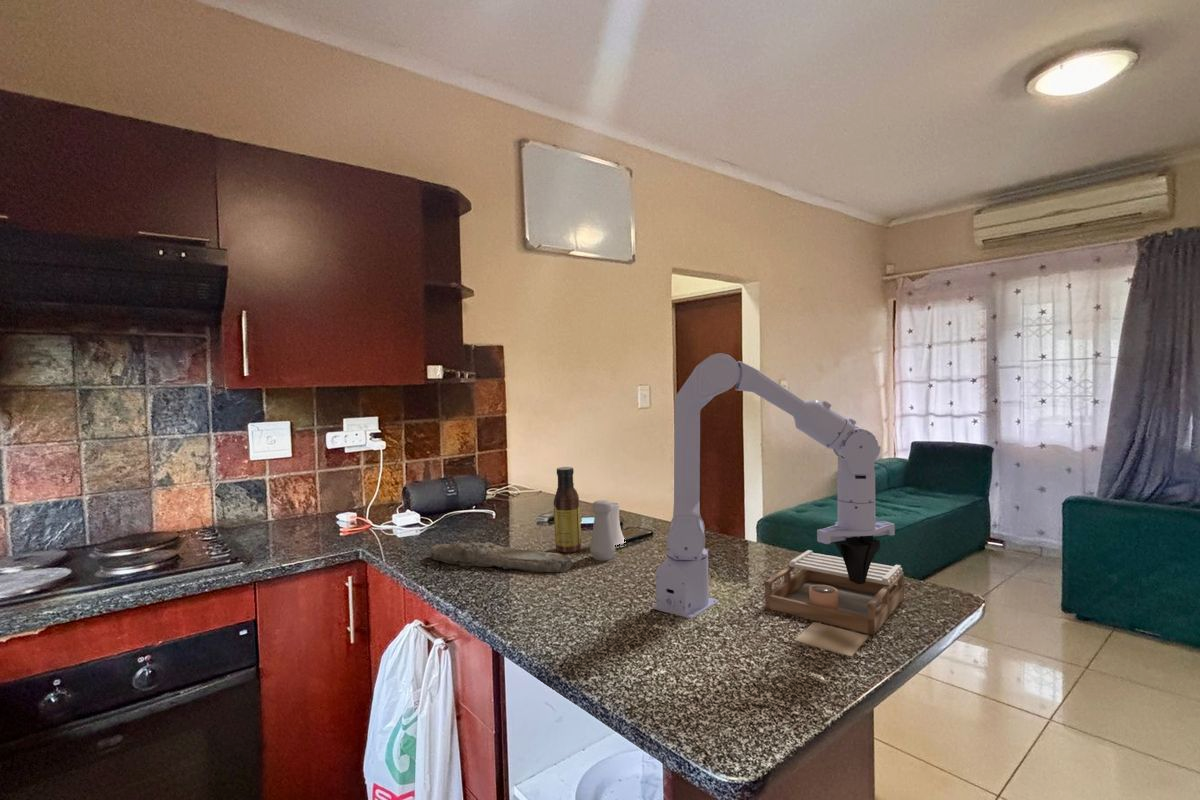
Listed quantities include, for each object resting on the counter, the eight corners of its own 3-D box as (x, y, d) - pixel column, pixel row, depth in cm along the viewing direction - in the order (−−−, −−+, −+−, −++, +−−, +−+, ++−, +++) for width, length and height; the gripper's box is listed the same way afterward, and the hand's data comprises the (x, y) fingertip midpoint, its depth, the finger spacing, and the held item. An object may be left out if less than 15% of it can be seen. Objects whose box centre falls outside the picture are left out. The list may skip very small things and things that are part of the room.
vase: (589, 545, 136) (588, 505, 136) (609, 538, 142) (608, 500, 141) (612, 550, 131) (611, 508, 131) (632, 543, 137) (631, 503, 136)
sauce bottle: (566, 545, 136) (564, 465, 136) (586, 548, 133) (584, 466, 133) (549, 551, 131) (547, 468, 131) (569, 555, 127) (567, 470, 127)
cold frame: (873, 637, 82) (873, 604, 82) (765, 610, 93) (764, 581, 93) (904, 599, 96) (903, 572, 96) (806, 580, 107) (806, 555, 107)
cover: (889, 585, 89) (888, 579, 89) (789, 566, 100) (789, 560, 100) (902, 571, 96) (902, 565, 96) (807, 554, 107) (807, 549, 107)
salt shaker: (601, 563, 121) (600, 504, 121) (584, 558, 125) (583, 501, 125) (620, 558, 125) (619, 500, 124) (603, 553, 129) (602, 497, 129)
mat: (851, 659, 75) (851, 655, 75) (794, 643, 81) (794, 639, 81) (868, 639, 81) (868, 635, 81) (813, 625, 87) (813, 621, 87)
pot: (833, 621, 87) (832, 595, 87) (805, 614, 90) (804, 589, 90) (842, 612, 90) (841, 588, 90) (815, 606, 93) (814, 582, 93)
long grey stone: (560, 585, 112) (578, 573, 122) (561, 559, 112) (579, 549, 122) (417, 562, 124) (444, 552, 133) (419, 538, 124) (445, 530, 133)
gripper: (870, 492, 97) (871, 569, 97) (803, 499, 92) (804, 580, 92) (905, 499, 90) (906, 581, 91) (834, 507, 86) (836, 594, 86)
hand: (857, 582), depth 91 cm, fingers closed
